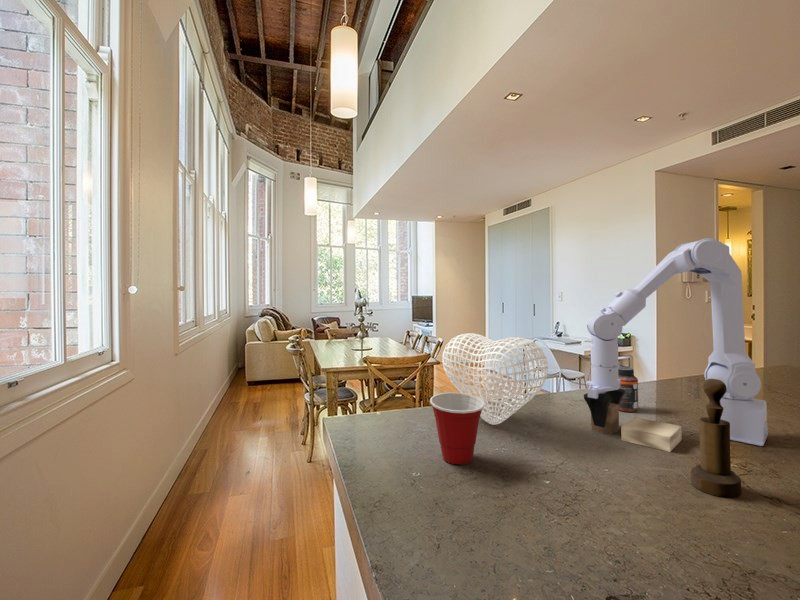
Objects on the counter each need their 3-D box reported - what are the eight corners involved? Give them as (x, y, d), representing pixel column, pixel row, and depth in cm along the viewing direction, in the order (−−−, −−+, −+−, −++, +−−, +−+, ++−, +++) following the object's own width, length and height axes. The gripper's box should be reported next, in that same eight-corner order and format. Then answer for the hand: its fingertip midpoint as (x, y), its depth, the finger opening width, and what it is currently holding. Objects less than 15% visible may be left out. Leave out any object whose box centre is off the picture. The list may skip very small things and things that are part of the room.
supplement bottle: (643, 412, 105) (642, 370, 104) (620, 413, 105) (620, 370, 105) (630, 406, 111) (630, 366, 110) (609, 406, 111) (608, 366, 110)
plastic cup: (451, 476, 71) (449, 410, 71) (420, 455, 80) (419, 396, 80) (498, 463, 76) (496, 401, 76) (464, 444, 85) (463, 389, 85)
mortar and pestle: (692, 474, 70) (691, 373, 69) (740, 485, 65) (740, 377, 65) (689, 490, 64) (688, 380, 64) (742, 502, 60) (741, 385, 60)
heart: (562, 431, 92) (560, 336, 92) (523, 449, 82) (521, 343, 82) (470, 406, 114) (468, 329, 113) (431, 417, 104) (429, 334, 104)
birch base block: (681, 439, 85) (681, 426, 85) (670, 452, 79) (669, 437, 79) (635, 429, 92) (635, 417, 92) (621, 440, 86) (621, 426, 86)
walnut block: (619, 429, 93) (618, 404, 92) (611, 434, 90) (611, 408, 89) (598, 425, 96) (598, 400, 96) (591, 429, 93) (591, 404, 93)
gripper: (598, 359, 100) (599, 412, 101) (573, 367, 90) (574, 426, 91) (629, 362, 95) (630, 418, 95) (606, 371, 85) (607, 433, 86)
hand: (605, 422), depth 93 cm, fingers open, 6 cm apart
